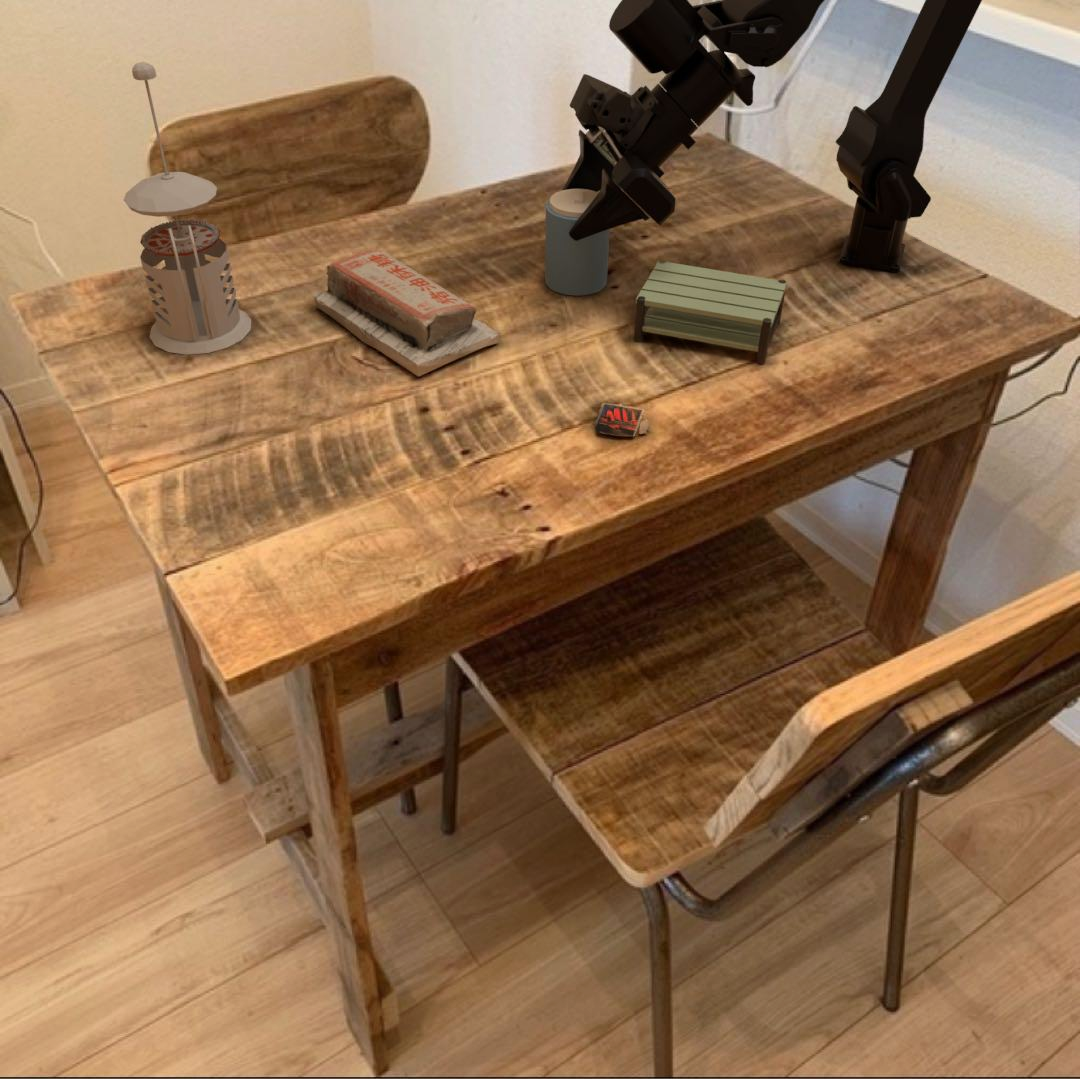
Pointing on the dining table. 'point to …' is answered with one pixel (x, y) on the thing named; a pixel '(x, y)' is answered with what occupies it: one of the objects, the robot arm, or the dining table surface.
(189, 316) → the french press
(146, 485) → the dining table surface
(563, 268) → the tissue tub
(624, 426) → the matchbox
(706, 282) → the rack
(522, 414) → the dining table surface
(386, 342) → the packaged product
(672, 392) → the dining table surface
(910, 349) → the dining table surface
